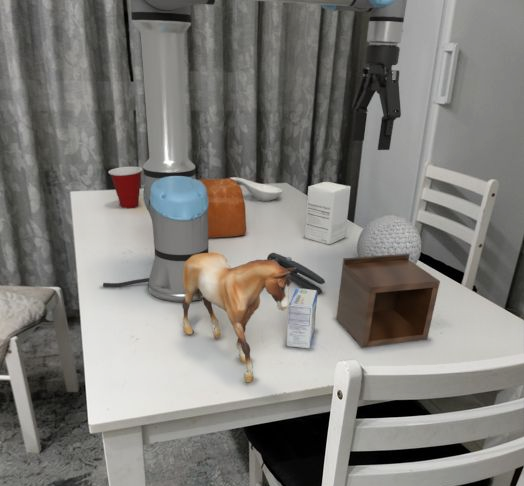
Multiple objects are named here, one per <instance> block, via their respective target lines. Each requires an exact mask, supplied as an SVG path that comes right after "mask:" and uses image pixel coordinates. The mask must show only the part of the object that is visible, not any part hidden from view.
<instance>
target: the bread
mask: <svg viewBox="0 0 524 486" xmlns="http://www.w3.org/2000/svg"><path fill="white" fill-rule="evenodd" d="M231 178H232V177H227V178H214V179H213V178H201V179H200V178H199V179H197V180H199V181H200V182H202V183H203V184H204V185H205V187H206V189H207V196H208V200H209V202H208V239H209V238H231V237H233V238H234V237H239V236H245V235H246V231H247V215H246V202H245V199H244V194H243V189H242V187H241V186H240V185H239V184H240V183H238V182H235V181H234V180H233V179H231Z"/></svg>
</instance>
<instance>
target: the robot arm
mask: <svg viewBox="0 0 524 486" xmlns="http://www.w3.org/2000/svg"><path fill="white" fill-rule="evenodd" d="M219 1H220V0H129V2H130V14H131V23H132V24H133V25H134V26H135V27H136V28H137V30H138V31H139V33H140V44H141V45H140V47H141V60H142V73H143V88H144V101H145V115H146V129H147V143H148V159H147V160H146V161H145V163H144V164H143V165H142V171H143V183H144V185H143V191H142V198H143V203H144V207H145V209H146V210H147V212H148V213H149V217H150V219H151V224H152V233H153V247H154V249H153V250H154V259H153V262H152V265H151V270H150V274H149V277H147V278H146V277H145V278H139V279H133V280H128V281H122V282H103V283H102V286H103V287H105V288H119V287H127V286H132V285H137V284H144V283H148V291H149V293H150V294H151V295H152V296H154V297H155V298H157V299H160V300H163V301H168V302H175V303H182V300H183V299H184V298H185V294H186V291H185V288H184V285H183V267H184V264H185V262H186V261H187V260H188V259H189V258H190V257H191V256H192V255H195V254H201V253H209V238H208V202H209V200H208V196H207V189H206V187H205V185H204V184H203V183H202V182H200V181H199V180H198V179H197V178H196V175H197V174H196V165H195V163H194V162H192V161H191V160H190V158H189V143H188V142H189V141H188V139H189V138H188V114H187V113H188V112H187V87H186V60H185V59H186V57H185V34H186V32H187V30H188V29H189V28H190V27H191V26H192V10H191V8H192V7H191V6H197V5H198V6H199V5H207V6H208V5H210V6H214V5H217V3H218V2H219ZM253 1H256V2H272V3H287V4H288V3H289V4H306V5H320V6H321V8H322V9H325V10H329V11H334V12H337V11H344V12H364V13H369V20H368V27H367V35H366V42H367V43H368V45H366V47H365V55H364V63H365V64H366V65H369V67H362V68H361V74H360V79H359V83H358V85H357V88H356V91H355V95H354V98H353V101H352V104H351V108H352V109H354V112H355V117H354V118H355V119H354V126H353V134H352V141H355V142H356V141H357V142H360V141H361V142H363V141H364V140H365V133H366V126H367V116H368V112H369V111H368V107H369V105H370V103H371V101H372V99H373V97H374V95H375V93H377V94H378V95H379V100H380V105H381V109H382V117H381V118H380V119H381V121H380V129H379V136H378V142H377V151H390V149H391V141H392V135H393V130H394V123H395V121H396V120H397V119H398V118H399V119H400V118H401V117H402V110H401V96H400V84H399V81H400V70H393V69H392V68H393V66H397V65H398V63H399V59H400V51H401V48H400V46H398V45H399V44H400V43H401V42H402V35H403V32H404V21H405V15H406V9H407V4H408V3H407V2H408V0H252V2H253ZM199 291H200V289H199ZM200 292H201V291H200ZM201 297H202V298H203V297H204V296H203V294H202V296H201ZM200 300H202V299H199V298H198V297H196V296H195V295H194V296H193V298H192V301H191V302H196V301H200Z"/></svg>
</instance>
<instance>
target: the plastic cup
mask: <svg viewBox="0 0 524 486" xmlns="http://www.w3.org/2000/svg"><path fill="white" fill-rule="evenodd" d="M142 171H143V167H140V166H122V167H116V168H112V169H110V170H108V174H109V175H110V177H111V179H112V182H113V185H114V189H115V193H116V196H117V197H118V202H119V205H120V207H121V208H124V209H132V208H133V209H134V208H138V206H139V203H140V202H139V201H140V200H139V199H140V192H141V191H140V189H141V188H140V187H141V179H142V177H141V176H142Z"/></svg>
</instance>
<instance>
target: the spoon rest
mask: <svg viewBox="0 0 524 486" xmlns="http://www.w3.org/2000/svg"><path fill="white" fill-rule="evenodd" d="M230 178H231V179H233V180H234V181H235V182H236V183H238V184H240V185H242V186H243V187H244V188H246V190H247V191H248V192H249V193H250V194H251V195H252V196H253V197H254V198H255V199H256V200H258V201H262V202H263V201H264V202H269V201H270V202H271V201H273V200H276V199H277V198H279V197H280V196H281V195H282V193H283V192H284V190H283V189H282V188H281V187H277V186H274V185H269V184H264V183H259V182H255V181H252V180H248V179H246V178H242V177H237V176H234V177H232V176H231V177H230Z"/></svg>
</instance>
